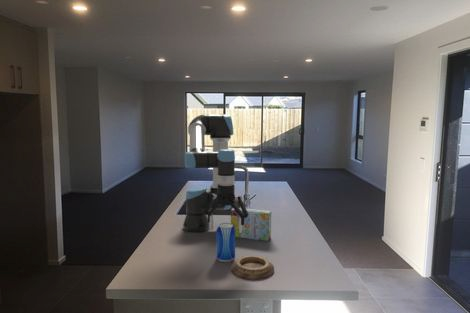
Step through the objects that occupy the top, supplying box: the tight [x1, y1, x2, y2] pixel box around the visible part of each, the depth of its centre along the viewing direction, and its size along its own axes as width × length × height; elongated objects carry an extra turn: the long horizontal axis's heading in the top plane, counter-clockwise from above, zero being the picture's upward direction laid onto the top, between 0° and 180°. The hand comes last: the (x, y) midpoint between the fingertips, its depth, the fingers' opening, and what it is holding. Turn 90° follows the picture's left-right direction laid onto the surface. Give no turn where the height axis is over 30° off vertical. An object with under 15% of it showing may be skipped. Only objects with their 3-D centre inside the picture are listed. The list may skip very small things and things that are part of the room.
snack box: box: [230, 207, 272, 242], centre depth 187 cm, size 21×6×15 cm, turn 71°
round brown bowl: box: [231, 254, 275, 281], centre depth 150 cm, size 18×18×3 cm
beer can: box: [216, 222, 236, 263], centre depth 159 cm, size 8×8×16 cm
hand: (225, 230), depth 158 cm, fingers open, 13 cm apart
